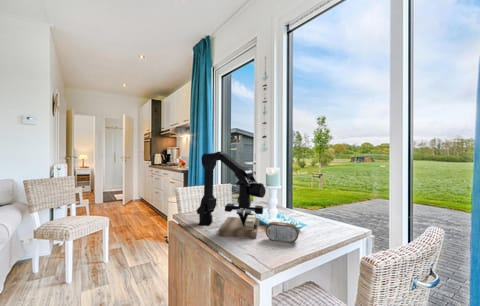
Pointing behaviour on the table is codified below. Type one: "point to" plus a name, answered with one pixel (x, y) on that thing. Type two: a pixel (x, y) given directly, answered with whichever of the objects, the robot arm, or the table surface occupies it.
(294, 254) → the table surface
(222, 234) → the stool seat
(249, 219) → the stool leg
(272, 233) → the retro speaker
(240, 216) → the robot arm
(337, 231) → the table surface
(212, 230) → the table surface
